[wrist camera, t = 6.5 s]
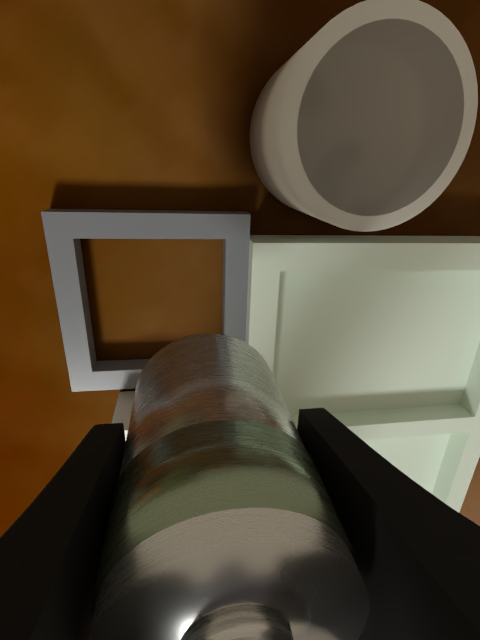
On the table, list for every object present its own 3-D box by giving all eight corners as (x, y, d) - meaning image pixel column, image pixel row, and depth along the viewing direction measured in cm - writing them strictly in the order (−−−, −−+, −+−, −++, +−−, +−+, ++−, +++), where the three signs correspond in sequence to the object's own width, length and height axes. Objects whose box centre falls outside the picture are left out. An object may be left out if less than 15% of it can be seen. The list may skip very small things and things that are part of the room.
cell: (272, 445, 12) (362, 720, 6) (140, 458, 11) (98, 777, 5) (279, 328, 10) (413, 550, 4) (126, 335, 10) (46, 603, 4)
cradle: (240, 371, 19) (243, 382, 18) (77, 380, 18) (71, 391, 17) (246, 211, 16) (250, 214, 15) (49, 208, 15) (41, 211, 14)
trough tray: (430, 521, 26) (447, 545, 25) (234, 544, 24) (238, 572, 23) (523, 236, 18) (556, 243, 17) (245, 235, 16) (253, 243, 15)
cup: (376, 213, 17) (450, 232, 12) (246, 211, 16) (273, 231, 11) (402, 55, 15) (507, 5, 10) (252, 43, 14) (290, -18, 9)
